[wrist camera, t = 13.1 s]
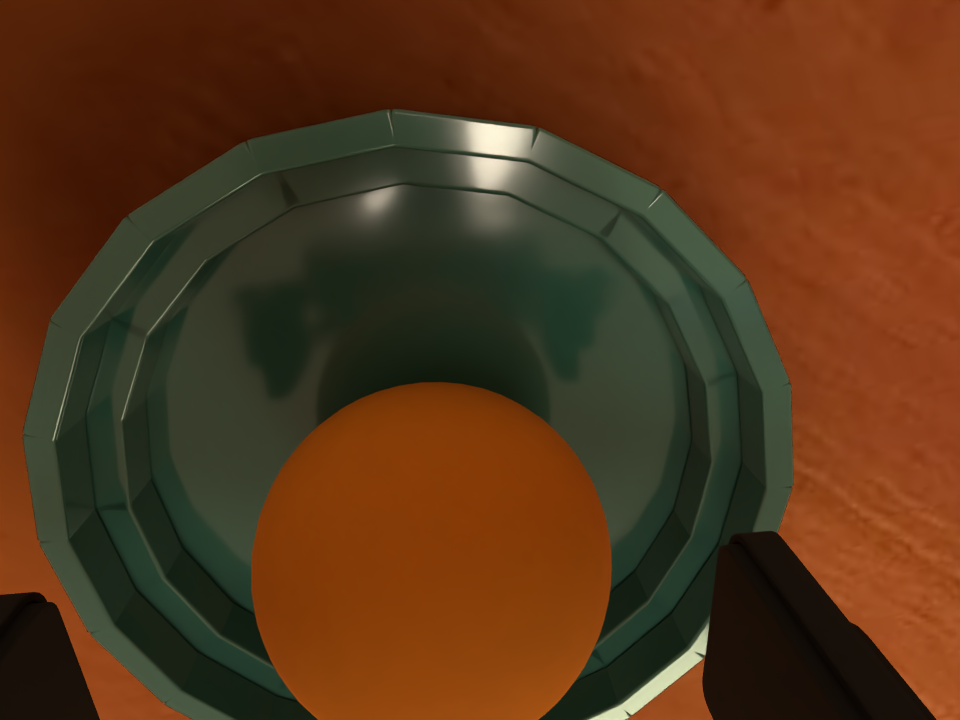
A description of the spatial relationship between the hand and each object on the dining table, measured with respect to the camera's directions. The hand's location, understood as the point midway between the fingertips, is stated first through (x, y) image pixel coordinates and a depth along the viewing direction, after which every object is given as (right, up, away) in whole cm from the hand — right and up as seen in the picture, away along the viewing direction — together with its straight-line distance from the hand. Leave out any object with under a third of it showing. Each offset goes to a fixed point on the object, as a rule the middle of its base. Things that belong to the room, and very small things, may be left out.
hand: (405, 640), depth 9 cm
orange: (0, 0, +3) cm, 3 cm away
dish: (0, +2, +6) cm, 7 cm away
